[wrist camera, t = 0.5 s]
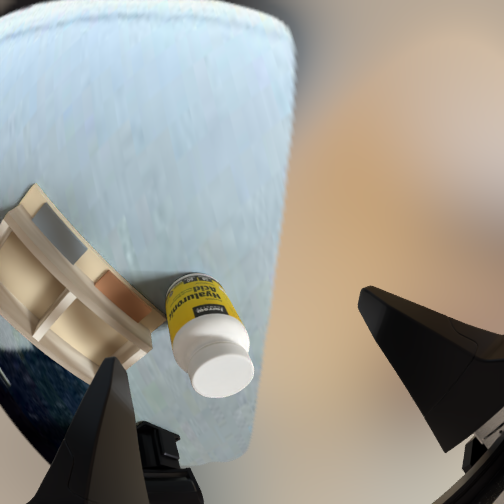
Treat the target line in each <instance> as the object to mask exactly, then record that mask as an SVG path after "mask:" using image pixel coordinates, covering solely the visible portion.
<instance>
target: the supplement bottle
mask: <svg viewBox="0 0 504 504" xmlns="http://www.w3.org/2000/svg"><path fill="white" fill-rule="evenodd" d="M165 307H166V315H167V321H168V327H169V333H170V339H171V344H172V350H173V354H174V357H175V360H176V362H177V364H178V365H179V366H180V367H181V368H182V369H183V370H184V371H185V372H187V373H188V374H189V377H190V380H191V384H192V386H193V388H194V390H195V391H196V392H197V393H199V394H200V395H203V396H205V397H210V398H222V397H227V396H230V395H233V394H235V393H237V392H239V391H241V390H242V389H244V388H245V387H246V386H247V385H248V384H249V383H250V381H251V380H252V378H253V375H254V366H253V363H252V361H251V359H250V357H249V355H248V351H249V346H250V342H249V336H248V333H247V331H246V329H245V327H244V325H243V323H242V322H241V320H240V318H239V316H238V314H237V313H236V311H235V309H234V307H233V305H232V303H231V301H230V300H229V298H228V296H227V294H226V293H225V291H224V289H223V287H222V286H221V285H220V283H219V282H218V281H217V280H216V279H214V278H213V277H211V276H209V275H206V274H201V273H194V274H188V275H185V276H183V277H181V278H179V279H178V280H176V281H175V282H174V283H173V284H172V285H171V286H170V288H169V289H168V291H167V294H166V298H165Z"/></svg>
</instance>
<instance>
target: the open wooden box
mask: <svg viewBox="0 0 504 504" xmlns="http://www.w3.org/2000/svg"><path fill="white" fill-rule="evenodd" d="M0 314H1V315H2V316H3V317H4V318H5V319H6V320H7V321H8V322H9V323H10V324H11V325H12V326H13V327H14V328H15V329H16V330H18V331H19V332H20V333H21V334H22V335H23V336H24V337H26V338H27V339H28V340H29V341H30V342H31V343H33V344H34V345H35V346H36V347H38V348H39V349H40V350H41V351H43V352H44V353H45V354H46V355H48V356H49V357H50V358H52V359H53V360H54V361H56V362H57V363H58V364H60V365H61V366H63V367H64V368H65V369H67V370H68V371H70V372H71V373H73V374H74V375H76V376H77V377H79V378H80V379H82V380H83V381H85V382H86V383H88V384H89V385H90V384H91V382H92V380H93V378H94V376H95V374H96V372H97V371H98V369H99V367H100V365H101V363H102V362H103V360H104V359H105V358H106V357H112V356H115V357H117V358H118V360H119V361H120V363H121V364H122V366H123V367H124V369H125V370H127V369H128V368H129V367H131V366H132V365H133V364H134V363H136V362H137V361H138V360H139V359H141V358H142V357H143V356H144V355H145V354H147V353H148V352H149V351H150V350H152V340H151V333H152V332H153V331H154V330H155V329H156V328H158V327H159V326H160V325H161V324H162V323H164V322H165V321H166V320H167V318H166V315H164V314H163V313H162V312H161V311H160V310H158V309H157V308H156V307H155V306H154V305H153V304H152V303H150V302H149V301H148V300H147V299H146V298H145V297H144V296H143V295H141V294H140V293H139V292H138V291H137V290H136V289H135V288H134V287H133V286H132V285H130V284H129V283H128V282H127V281H126V280H125V279H124V278H123V277H122V276H121V275H120V274H119V273H118V272H117V271H116V270H115V269H114V268H113V267H112V266H110V265H109V264H108V263H107V262H106V261H105V260H104V259H103V258H102V257H101V256H100V255H99V254H98V253H97V251H96V250H95V249H94V248H93V247H92V246H91V245H90V244H89V243H88V242H87V241H86V240H85V239H84V238H83V237H82V236H81V235H80V234H79V233H78V231H77V230H76V229H75V228H74V227H73V226H72V225H71V224H70V223H69V221H68V220H67V219H66V218H65V217H64V216H63V215H62V213H61V212H60V211H59V210H58V209H57V208H56V206H55V205H54V204H53V203H52V202H51V201H50V199H49V198H48V197H47V196H46V194H45V193H44V192H43V191H42V189H41V188H40V187H39V186H38V184H37V183H36V184H34V185H33V186H32V187H31V189H30V190H29V191H28V192H27V194H26V195H25V196H24V198H23V199H22V200H21V202H20V203H19V205H18V206H17V207H16V208H14V209H12V210H10V211H9V212H8V213H7V214H6V216H5V217H4V219H3V220H2V222H1V223H0Z"/></svg>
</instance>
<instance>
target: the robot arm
mask: <svg viewBox="0 0 504 504" xmlns="http://www.w3.org/2000/svg"><path fill="white" fill-rule="evenodd" d="M358 309H359V311H360V313H361V315H362V317H363V319H364V321H365V322H366V324H367V326H368V328H369V330H370V332H371V333H372V336H373V337H374V339H375V341H376V342H377V344H378V345H379V347H380V348H381V350H382V351H383V353H384V354H385V356H386V357H387V359H388V361H389V362H390V364H391V365H392V367H393V368H394V370H395V371H396V373H397V374H398V376H399V377H400V379H401V381H402V382H403V384H404V385H405V387H406V388H407V390H408V392H409V393H410V395H411V397H412V398H413V400H414V401H415V403H416V405H417V406H418V408H419V410H420V411H421V413H422V415H423V416H424V418H425V420H426V422H427V423H428V425H429V427H430V428H431V430H432V432H433V433H434V435H435V437H436V439H437V440H438V442H439V444H440V446H441V448H442V449H443V451H444V452H445V453H447V452H448V451H449V450H451V449H452V448H454V447H455V446H457V445H458V444H459V443H461V442H462V441H463V440H465V439H466V438H468V437H469V436H470V435H471V434H473V433H474V436H473V438H472V439H471V440H470V441H469V442H468V443H467V444H466V445H465V452H464V459H463V466H462V469H463V470H464V472H465V475H464V476H463V477H462V478H461V479H460V480H458V482H456V483H455V484H454V485H453V486H452V487H451V488H450V489H449V490H448V491H447V492H445V493H444V494H443V495H442V496H441V497H439V498H438V499H437V500H436V501H435V502H433V503H432V504H504V335H499V334H496V333H493V332H490V331H486V330H483V329H480V328H477V327H474V326H471V325H468V324H465V323H463V322H460V321H458V320H455V319H453V318H450V317H447V316H446V315H443V314H440V313H438V312H436V311H433V310H431V309H428V308H426V307H424V306H421V305H418V304H416V303H414V302H411V301H409V300H406V299H404V298H401V297H399V296H396V295H394V294H391V293H389V292H386V291H384V290H381V289H379V288H376V287H374V286H367V287H365V288H362V290H361V292H360V296H359V301H358ZM64 438H65V439H63V441H62V443H61V446H60V448H59V450H58V452H57V454H56V456H55V459H54V461H53V462H52V464H51V466H50V468H49V470H48V472H47V474H46V476H45V478H44V479H43V481H42V483H41V485H40V487H39V489H38V491H37V493H36V494H35V496H34V497H33V498H32V499H31V500H30V501H29V502H28V503H26V504H204V500H203V496H202V493H201V490H200V488H199V486H198V483H197V481H196V479H195V477H194V475H193V473H192V471H191V468H185V469H181V468H180V465H179V461H178V459H179V453H178V450H177V446H176V441H178V440H180V436H179V435H177V434H174V433H171V432H169V431H167V430H164V429H162V428H159V427H157V426H155V425H152V424H150V423H148V422H143V423H141V424H140V425H138V426H136V421H135V413H134V408H133V403H132V398H131V393H130V388H129V382H128V376H127V373H126V370H125V369H124V367H123V366H122V364H121V363H120V361H119V360H118V358H117V357H115V356H112V357H106V358H105V359H104V360H103V362H102V363H101V365H100V367H99V369H98V371H97V372H96V374H95V376H94V378H93V380H92V382H91V384H90V386H89V388H88V389H87V391H86V393H85V395H84V397H83V399H82V401H81V403H80V405H79V407H78V409H77V411H76V413H75V415H74V418H73V420H72V422H71V424H70V426H69V428H68V430H67V432H66V435H65V437H64Z"/></svg>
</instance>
